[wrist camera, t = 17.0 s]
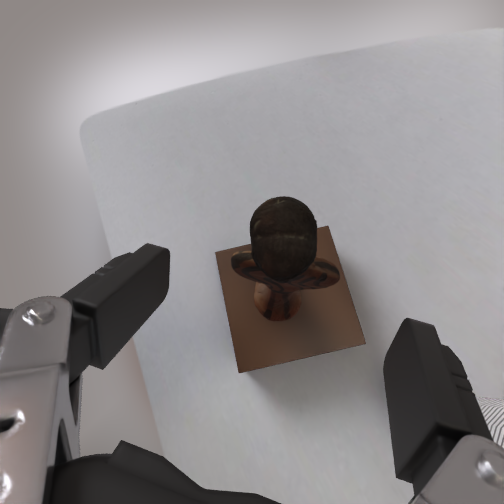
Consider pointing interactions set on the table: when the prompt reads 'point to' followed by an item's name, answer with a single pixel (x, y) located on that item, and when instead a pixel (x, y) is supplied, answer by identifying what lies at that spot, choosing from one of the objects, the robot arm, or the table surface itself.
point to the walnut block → (295, 329)
